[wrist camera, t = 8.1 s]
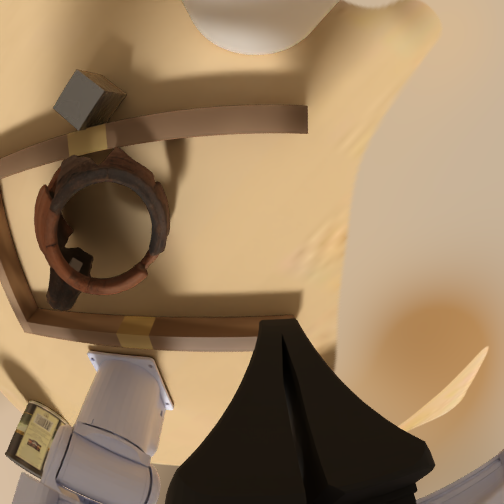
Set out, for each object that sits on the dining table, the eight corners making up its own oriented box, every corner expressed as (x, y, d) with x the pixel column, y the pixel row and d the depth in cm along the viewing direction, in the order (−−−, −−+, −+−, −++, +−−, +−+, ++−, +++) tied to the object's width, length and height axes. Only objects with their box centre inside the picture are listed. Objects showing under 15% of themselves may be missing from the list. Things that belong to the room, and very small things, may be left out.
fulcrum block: (126, 94, 14) (104, 90, 12) (103, 127, 15) (78, 130, 12) (101, 75, 14) (77, 69, 11) (79, 107, 14) (52, 108, 12)
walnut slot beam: (292, 329, 23) (295, 349, 21) (34, 318, 23) (24, 332, 21) (299, 108, 15) (307, 105, 13) (-13, 166, 15) (-29, 172, 13)
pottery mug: (74, 124, 15) (62, 122, 9) (173, 173, 22) (214, 197, 15) (24, 264, 17) (6, 326, 11) (117, 294, 23) (135, 356, 17)
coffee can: (41, 419, 36) (21, 468, 23) (21, 393, 32) (-5, 447, 19) (79, 436, 37) (62, 490, 24) (61, 412, 33) (37, 474, 20)
